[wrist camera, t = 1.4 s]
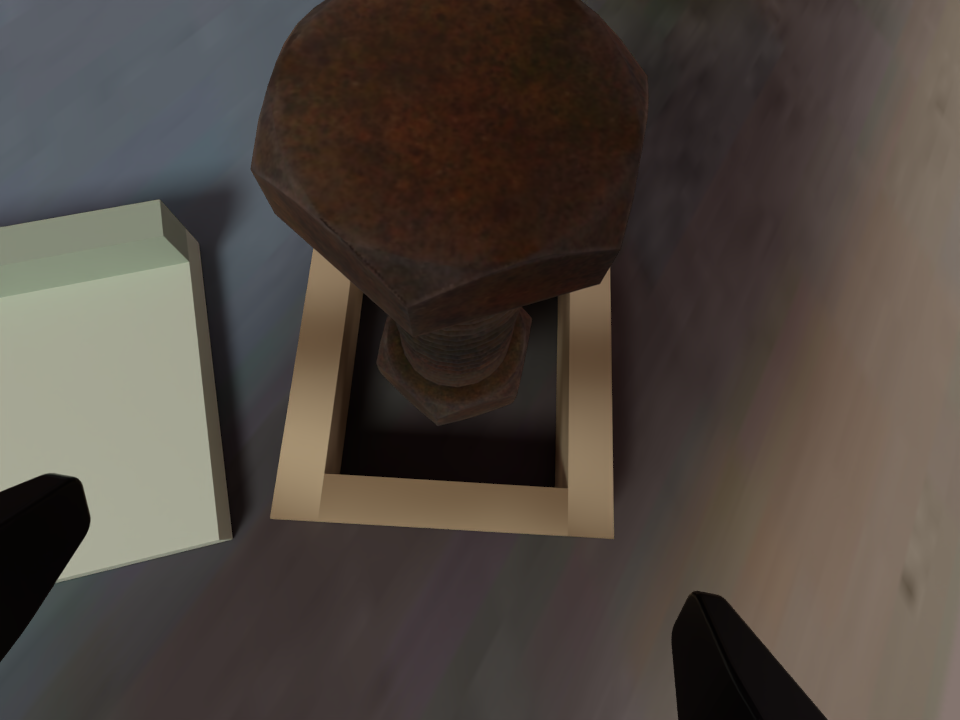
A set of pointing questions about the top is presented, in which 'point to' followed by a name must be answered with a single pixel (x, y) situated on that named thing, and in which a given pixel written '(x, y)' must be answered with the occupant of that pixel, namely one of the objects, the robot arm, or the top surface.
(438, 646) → the top surface
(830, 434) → the top surface
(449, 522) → the socket
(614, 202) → the bolt
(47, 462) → the pale green ledge plate
